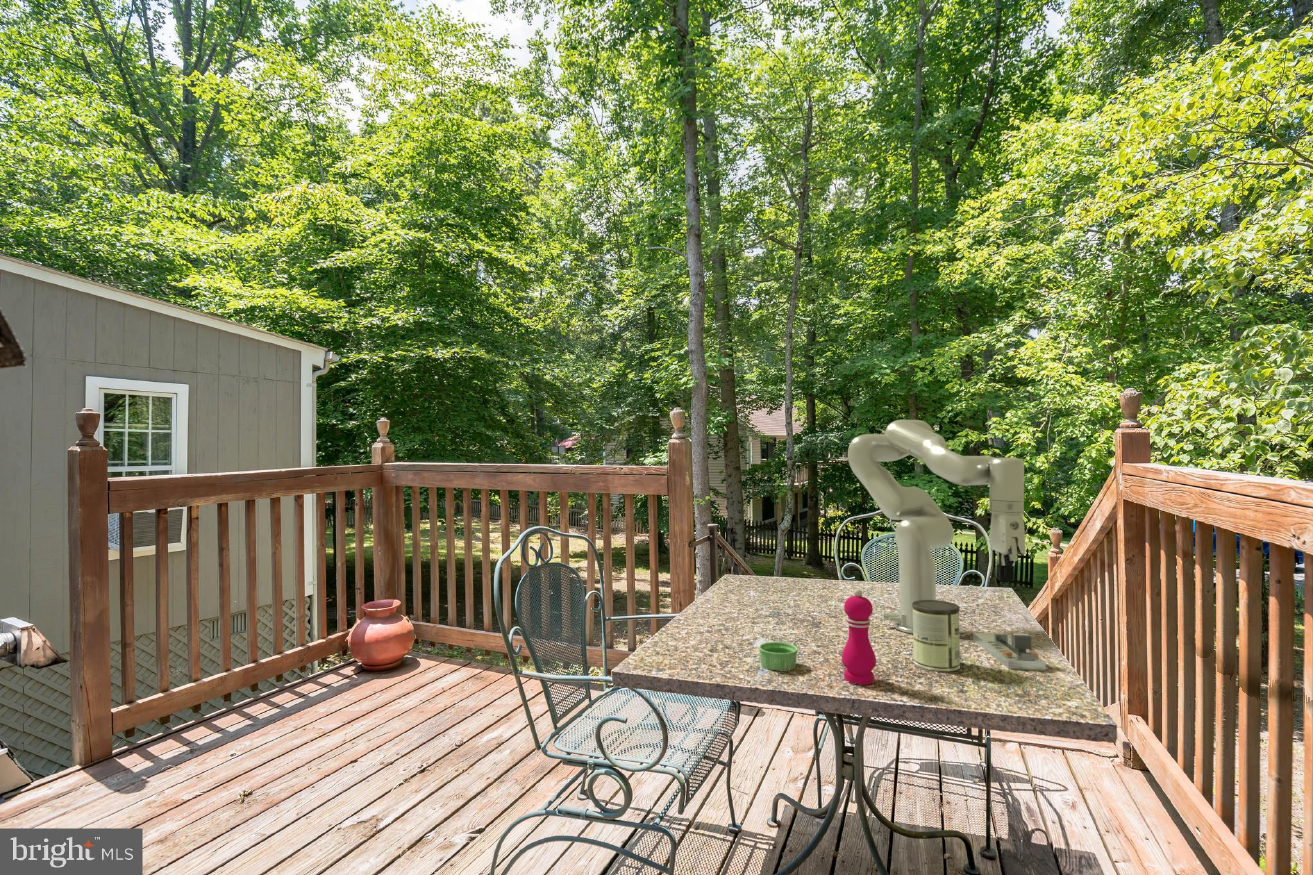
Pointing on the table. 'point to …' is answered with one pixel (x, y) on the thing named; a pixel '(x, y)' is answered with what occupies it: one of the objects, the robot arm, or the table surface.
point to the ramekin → (778, 655)
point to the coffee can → (936, 635)
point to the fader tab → (1021, 642)
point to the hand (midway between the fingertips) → (1005, 581)
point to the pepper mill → (858, 641)
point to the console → (1008, 652)
